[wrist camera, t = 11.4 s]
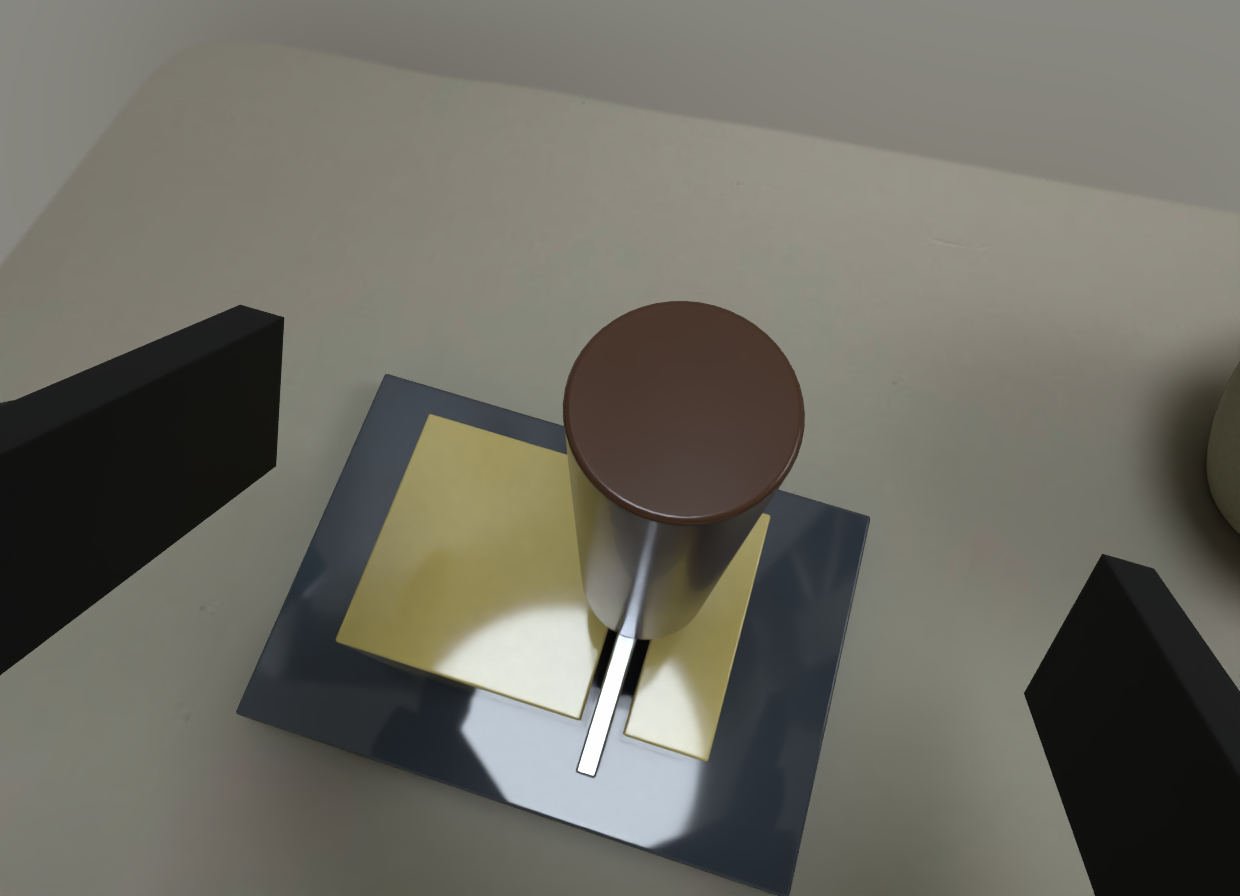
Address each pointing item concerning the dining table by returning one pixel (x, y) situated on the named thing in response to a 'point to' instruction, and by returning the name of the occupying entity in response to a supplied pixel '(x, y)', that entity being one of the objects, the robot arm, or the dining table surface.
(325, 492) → the dining table surface
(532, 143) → the dining table surface
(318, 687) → the butter dish
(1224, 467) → the flower pot
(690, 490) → the knife
